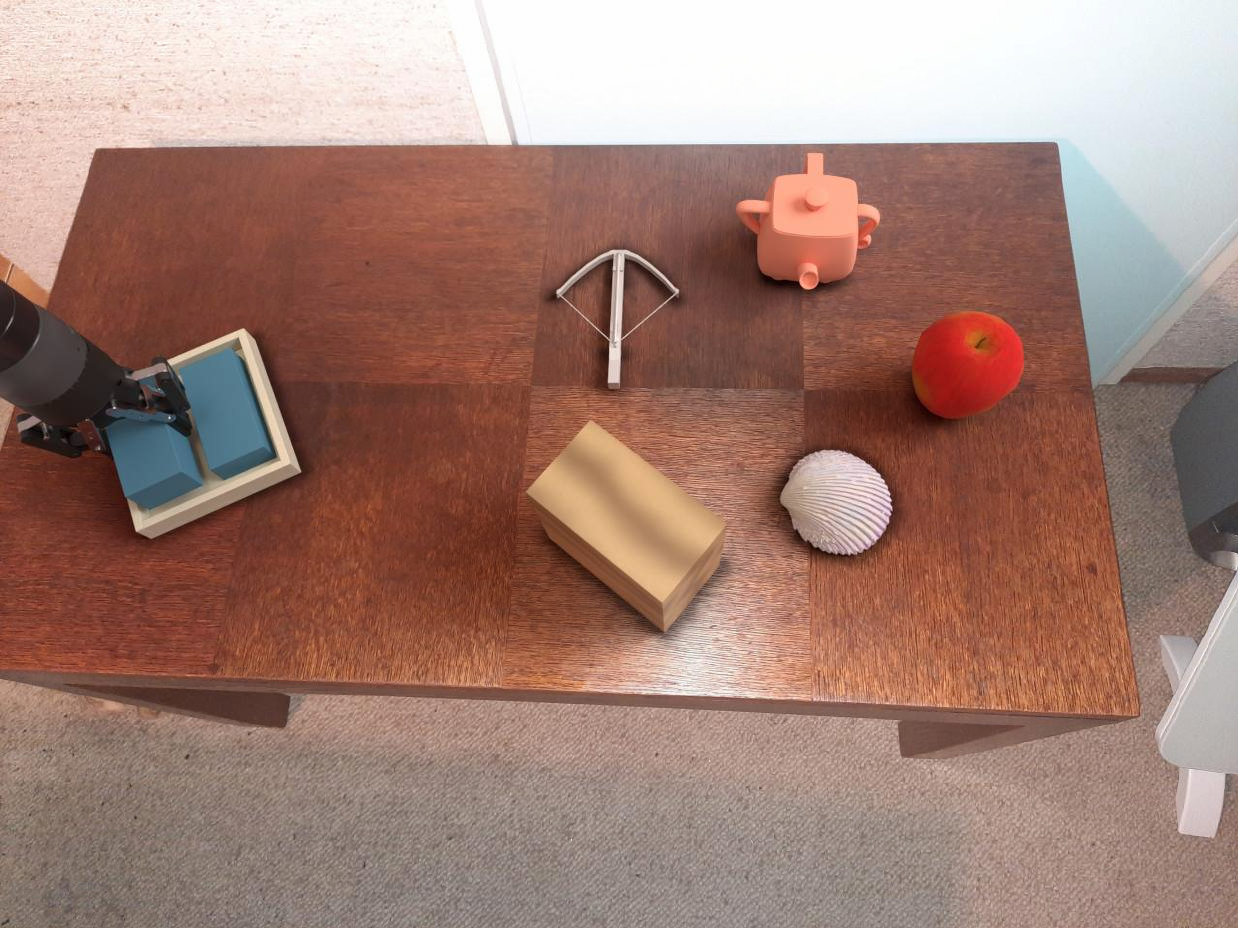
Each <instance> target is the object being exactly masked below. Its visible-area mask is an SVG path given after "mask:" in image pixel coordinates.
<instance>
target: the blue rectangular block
mask: <svg viewBox="0 0 1238 928" xmlns="http://www.w3.org/2000/svg"><path fill="white" fill-rule="evenodd" d="M145 385H146V384H145ZM147 386H148V387H149V388H150V389H151V390H152V391H156V388H153V387H151V386H150V385H147ZM156 392H157V391H156ZM159 393H163V394H165V393H164V392H163V391H161V392H159ZM154 405H155V406H156V407H157V404H154ZM157 408H158V407H157ZM104 429H105V430H106V433H107V437H108V440H109V443H110V447H111V451H112V454H113V458H114V460H113V461H114V464H115V468H116V471H117V475H118V479H119V481H120V485H121V488H122V492H123V494H124V498H126V499H127V498H128V499H130V500H131V501H133V502H135V503H137V504H139V505H141V506H143V507H145V508H147V509H149V510H151V509H153V508H155V507H157V506H160V505H162V504H164V503H166V502H168V501H170V500H173V499H175V498H177V497H179V496H181V495H183V494H186V493H188V492H190V491H192V490H194V489H196V488H199V487H201V486H203V482H202V479H201V476H200V473H199V470H198V467H197V464H196V461H195V458H194V454H193V451H192V448H191V445H190V442H189V439H188V436H187V437H185V436H183V435H182V434H180V433H179V432H177V431H176V430H175V429H173V428H172V427H170V426H169V425H167V424H166V422H161V421H157V420H153V419H150V420H148V421H147V422H143V421H139V420H135V419H130V418H125V419H122V420H118V421H115V422H114V423H112V424H111V425H109V426H107V427H105V428H104Z"/></svg>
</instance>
